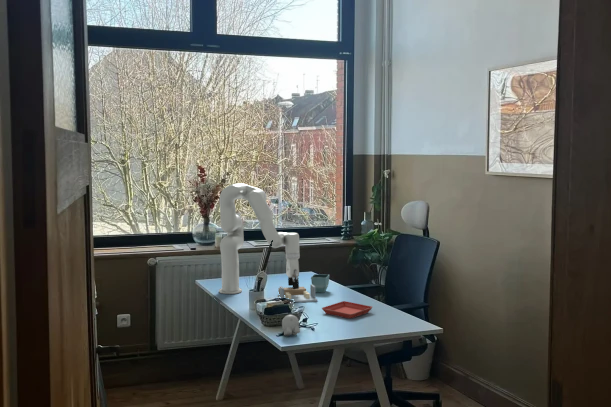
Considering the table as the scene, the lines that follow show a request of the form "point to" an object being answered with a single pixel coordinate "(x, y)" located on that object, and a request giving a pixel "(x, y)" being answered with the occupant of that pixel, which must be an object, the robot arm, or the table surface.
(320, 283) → the flower pot
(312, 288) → the peg stand
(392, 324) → the table surface
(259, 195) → the robot arm
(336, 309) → the plant saucer
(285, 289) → the plank
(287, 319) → the round bodied animal figurine
